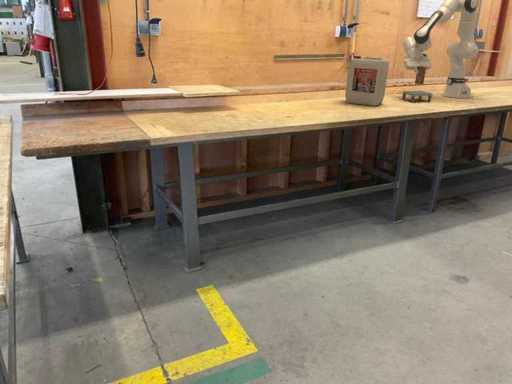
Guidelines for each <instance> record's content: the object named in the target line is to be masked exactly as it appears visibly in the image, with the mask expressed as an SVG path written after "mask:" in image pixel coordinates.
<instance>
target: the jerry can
mask: <svg viewBox="0 0 512 384" xmlns="http://www.w3.org/2000/svg"><path fill="white" fill-rule="evenodd" d="M389 63H390V60H389V59H387V58H385V57H380V56H379V57H375V56H374V57H373V56H365V57H362V56H361V55H353V57H352V58H351V59H350V60H349V63H348V66H347V78H346V87H345V96H344V97H345V102H346V103H348V104H354V105H364V106H372V107H376V106H378V105H380V104H382V103H383V102H384V98H385V97H386V95H385V94H386V86H387V80H388V75H389V67H390V66H389Z"/></svg>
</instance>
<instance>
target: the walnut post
mask: <svg viewBox="0 0 512 384" xmlns="http://www.w3.org/2000/svg"><path fill="white" fill-rule="evenodd" d="M417 70H418V71H419V72H420V73H419V74H416V73H415V75H416V76H415V82H414V84H415V85H419V86H420V85H422V86H423V85H424V83H425V77H426V74H425V72H426V73H427V71H426V67H425V66H418V68H417Z"/></svg>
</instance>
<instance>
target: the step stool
mask: <svg viewBox="0 0 512 384" xmlns="http://www.w3.org/2000/svg"><path fill="white" fill-rule="evenodd" d="M407 95H408V96H411V99H410V103H412V104H413V103H414V104H415V98H416V97H418V100H422V98H423V97H427V103H431V101H432V96H433V95H434V94H433V93H432V92H429V91H424V90H403V91H402V96H401V100H402V101H406V97H407Z"/></svg>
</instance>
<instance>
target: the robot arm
mask: <svg viewBox="0 0 512 384" xmlns="http://www.w3.org/2000/svg"><path fill="white" fill-rule="evenodd" d="M479 2H480V1H479V0H443V1H442V2H441V4H440V5H439V7H438V8H436V10H435V11H434V12H433V13H432V14H431V15H430V17H429V18H428V19H427V20H426V21H425V22H424V24H423V25H422V26H421V27H420V28H418V29H417V30H416V31H415V32H414V33H413V36H408V37H406V38H405V39H404V40H403V42H402V44H403V45H402V47H403V50H404V53H405V55H406V57H404V58H403V59H402V60H403V65H404V68H405V70H407V71H408V70H410V71H411V70H412V71H413V72H414V73H415V75H416V74H419V73H420V72H419V71H418V70H417V68H418V66H425V67H426V70H427V71H428V70H430V69H431V68H432V66H433V65H432V61H431V60H430V58H429V55H428V54H427V53H423V52H426V51H427V50H429V49H430V48H431V47H432V39H431V31H432V30H433V28H434V27H436V25H437V24H446V23H448V22H449V21H450V19H452V17H453V16H454V14H455V13H460V17H459V23H458V27H457V32H456V33H457V36H458V38H459V41H460V42H452V43H450V44H449V45H448V46H447V48H446V55H447V56H448V58H449V62H450V63H449V64H450V65H449V72H448V77H447V80H446V85H445V89H444V92H443V94H442V96H443V97H448V98H455V99H456V98H458V99H467V98H469V99H470V98H473V97H474V95H472V93H471V88H470V87H469V86H468V84H467V83H466V82H469V78H466V77H465V76H466V72H467V66H466V65H465V61H464V60H471V59H474V58H476V56H477V55H478V54H479V47H478V45H477V44H476V41H475V29H476V25H477V17H478V7H479ZM427 71H426V72H425V75H426V74H427Z"/></svg>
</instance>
